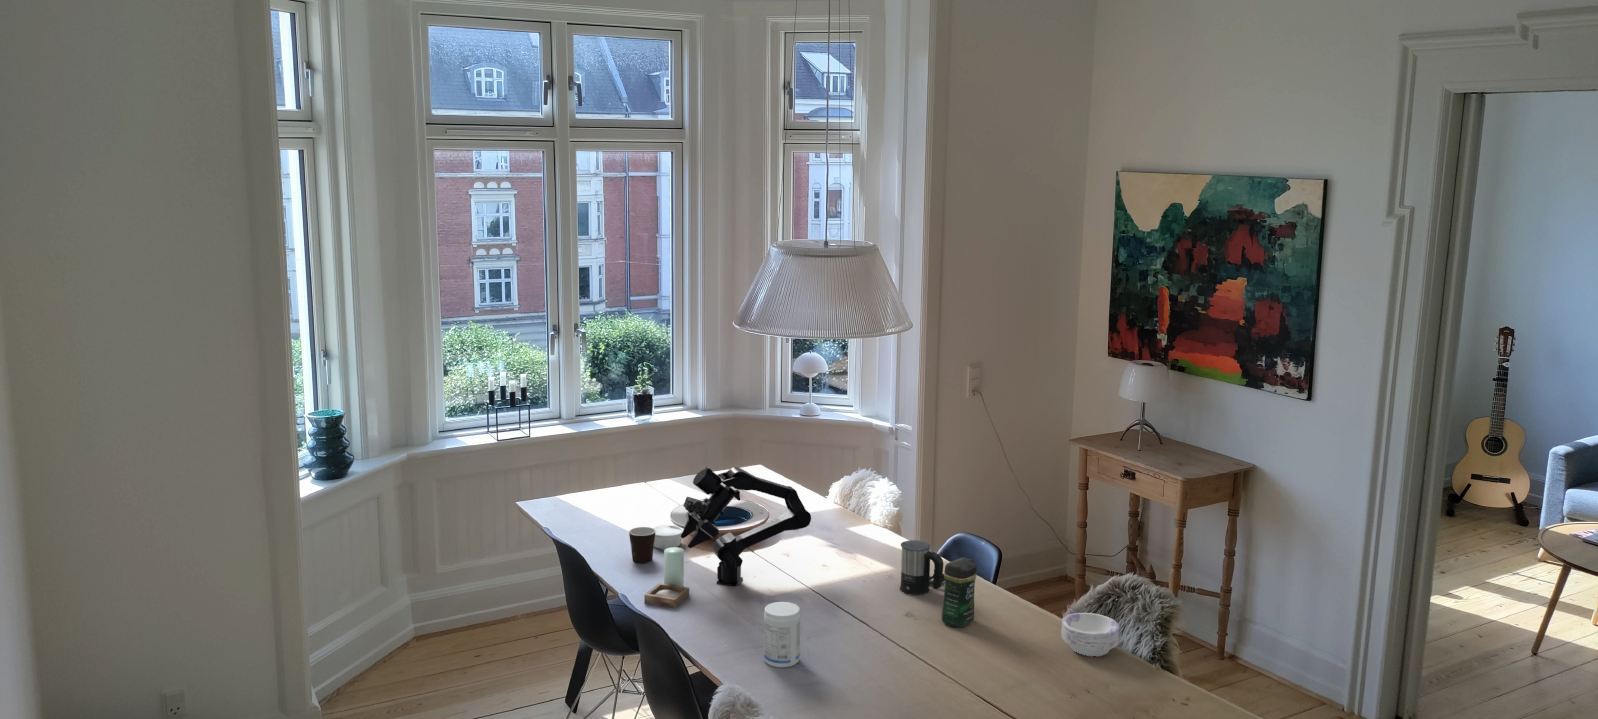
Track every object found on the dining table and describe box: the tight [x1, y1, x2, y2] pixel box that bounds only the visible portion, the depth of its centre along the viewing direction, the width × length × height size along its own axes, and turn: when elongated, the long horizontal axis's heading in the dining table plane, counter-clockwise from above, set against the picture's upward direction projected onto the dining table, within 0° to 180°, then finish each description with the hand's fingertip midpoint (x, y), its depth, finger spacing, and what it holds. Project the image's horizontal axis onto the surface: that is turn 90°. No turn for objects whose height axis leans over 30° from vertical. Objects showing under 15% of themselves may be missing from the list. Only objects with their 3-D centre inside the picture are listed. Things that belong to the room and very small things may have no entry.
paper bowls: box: [1060, 612, 1121, 657], centre depth 295 cm, size 15×15×8 cm
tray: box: [643, 582, 690, 609], centre depth 324 cm, size 10×10×3 cm
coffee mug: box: [628, 526, 656, 565], centre depth 357 cm, size 12×9×10 cm
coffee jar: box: [941, 556, 978, 628], centre depth 311 cm, size 10×8×19 cm
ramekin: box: [652, 524, 684, 550], centre depth 371 cm, size 11×11×5 cm
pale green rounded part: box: [663, 546, 685, 587], centre depth 333 cm, size 6×6×12 cm
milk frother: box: [899, 539, 945, 596], centre depth 337 cm, size 14×16×15 cm
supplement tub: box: [763, 601, 801, 668], centre depth 284 cm, size 10×10×15 cm
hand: (685, 542), depth 332 cm, fingers open, 9 cm apart
